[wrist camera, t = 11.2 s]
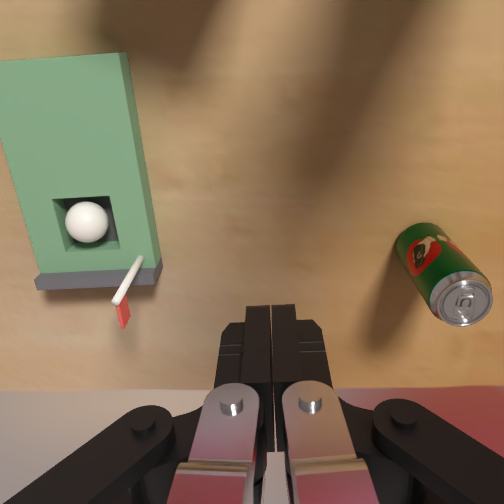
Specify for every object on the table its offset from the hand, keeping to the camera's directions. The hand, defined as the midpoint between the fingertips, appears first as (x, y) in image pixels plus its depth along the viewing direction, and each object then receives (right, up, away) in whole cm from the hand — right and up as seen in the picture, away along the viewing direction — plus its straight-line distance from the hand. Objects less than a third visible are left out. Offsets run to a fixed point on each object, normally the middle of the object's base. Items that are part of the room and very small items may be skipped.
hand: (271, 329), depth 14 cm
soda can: (+17, +3, +33) cm, 37 cm away
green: (-17, +11, +31) cm, 37 cm away
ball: (-17, +5, +31) cm, 35 cm away
